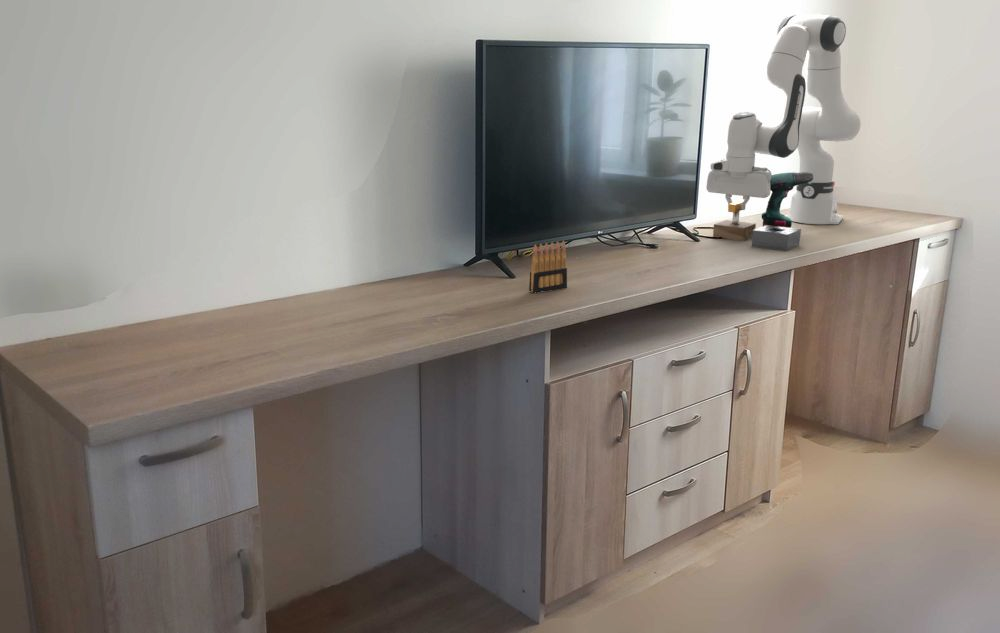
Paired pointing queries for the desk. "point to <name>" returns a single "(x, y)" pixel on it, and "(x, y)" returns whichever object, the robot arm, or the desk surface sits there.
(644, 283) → the desk surface
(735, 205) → the block
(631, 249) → the desk surface
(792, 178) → the power drill
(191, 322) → the desk surface
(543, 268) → the ammunition clip
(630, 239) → the desk surface
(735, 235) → the wooden square hole block
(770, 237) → the block
